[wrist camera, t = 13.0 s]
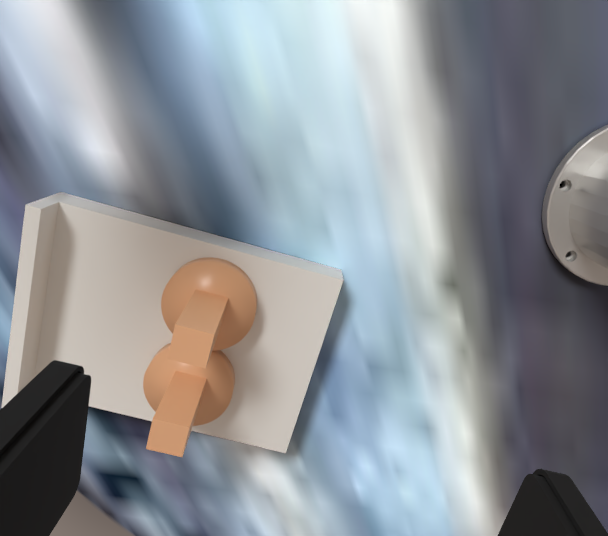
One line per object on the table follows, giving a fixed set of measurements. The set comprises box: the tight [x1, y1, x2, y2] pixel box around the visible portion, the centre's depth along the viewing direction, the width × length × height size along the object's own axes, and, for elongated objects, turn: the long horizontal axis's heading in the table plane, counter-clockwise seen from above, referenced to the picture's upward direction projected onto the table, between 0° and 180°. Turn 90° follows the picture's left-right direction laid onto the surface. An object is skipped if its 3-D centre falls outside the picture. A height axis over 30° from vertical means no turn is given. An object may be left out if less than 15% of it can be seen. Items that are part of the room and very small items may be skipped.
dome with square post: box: [143, 343, 235, 457], centre depth 37 cm, size 7×7×10 cm
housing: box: [2, 192, 344, 453], centre depth 36 cm, size 22×16×10 cm
